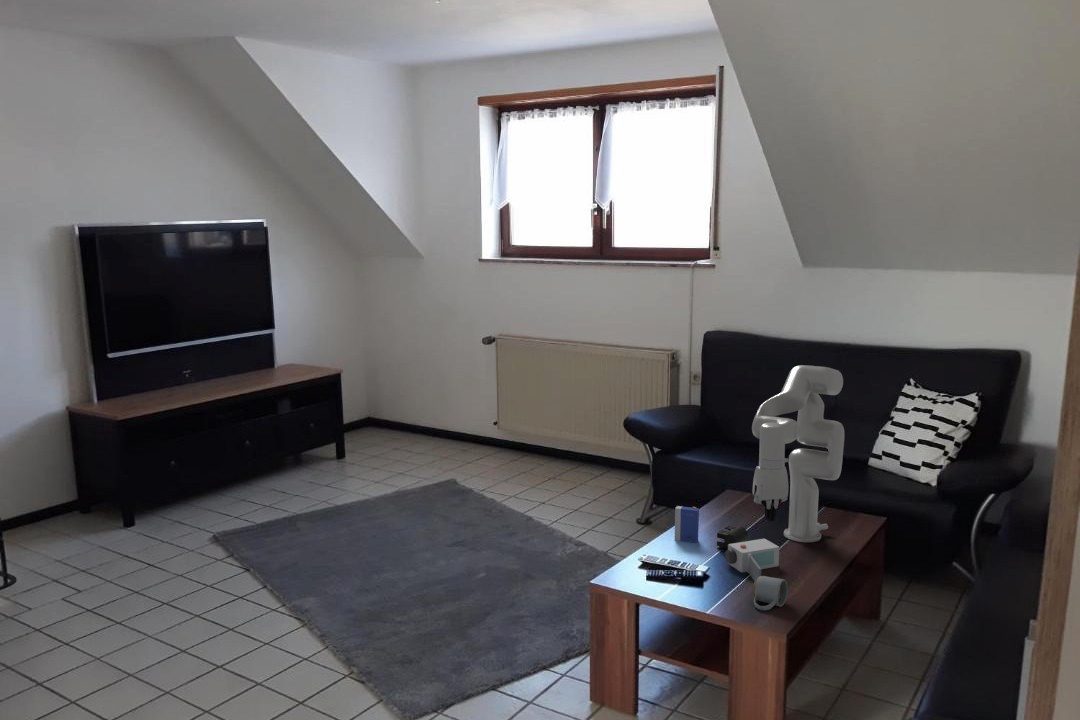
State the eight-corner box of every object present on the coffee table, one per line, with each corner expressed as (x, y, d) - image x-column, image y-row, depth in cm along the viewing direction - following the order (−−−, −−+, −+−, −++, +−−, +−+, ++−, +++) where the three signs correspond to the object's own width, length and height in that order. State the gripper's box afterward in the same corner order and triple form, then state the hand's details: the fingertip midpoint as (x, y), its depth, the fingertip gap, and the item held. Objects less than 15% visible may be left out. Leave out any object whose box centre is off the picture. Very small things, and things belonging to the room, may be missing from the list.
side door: (761, 587, 260) (762, 568, 259) (757, 587, 260) (758, 568, 259) (750, 571, 271) (751, 553, 270) (746, 572, 271) (747, 553, 270)
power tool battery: (735, 555, 286) (736, 535, 285) (715, 550, 290) (716, 531, 289) (747, 546, 294) (748, 527, 293) (728, 541, 298) (729, 522, 297)
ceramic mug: (760, 594, 255) (761, 569, 254) (787, 601, 251) (788, 576, 249) (746, 607, 247) (747, 582, 246) (774, 615, 242) (775, 589, 241)
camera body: (763, 557, 284) (764, 536, 282) (778, 566, 276) (779, 545, 275) (723, 564, 278) (723, 543, 277) (737, 573, 271) (738, 552, 269)
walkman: (698, 540, 299) (699, 507, 297) (696, 543, 296) (697, 509, 294) (676, 537, 302) (676, 504, 300) (674, 540, 299) (674, 507, 297)
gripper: (788, 457, 268) (786, 513, 272) (743, 461, 265) (742, 517, 269) (800, 464, 261) (798, 521, 264) (754, 468, 258) (752, 526, 262)
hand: (770, 519), depth 267 cm, fingers closed
